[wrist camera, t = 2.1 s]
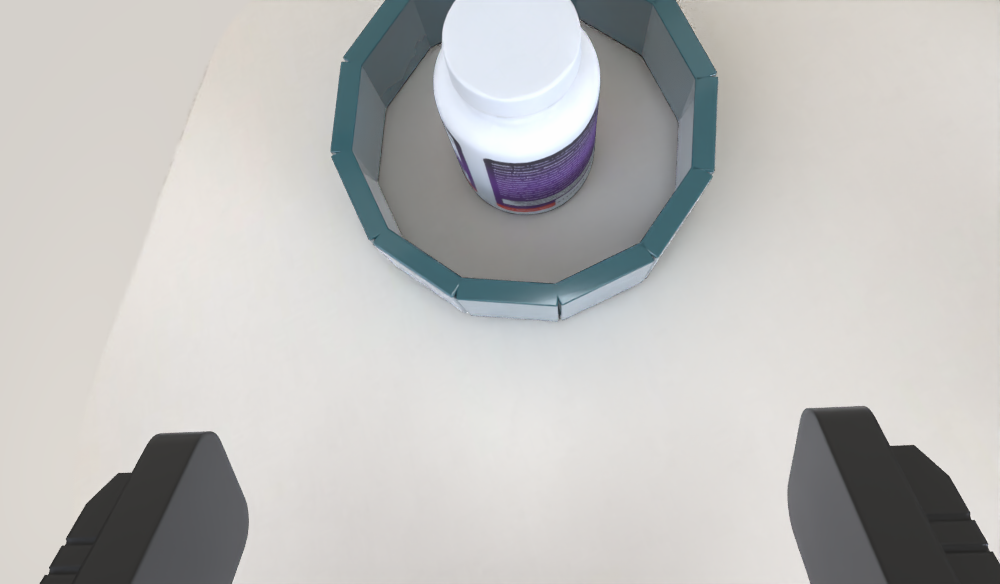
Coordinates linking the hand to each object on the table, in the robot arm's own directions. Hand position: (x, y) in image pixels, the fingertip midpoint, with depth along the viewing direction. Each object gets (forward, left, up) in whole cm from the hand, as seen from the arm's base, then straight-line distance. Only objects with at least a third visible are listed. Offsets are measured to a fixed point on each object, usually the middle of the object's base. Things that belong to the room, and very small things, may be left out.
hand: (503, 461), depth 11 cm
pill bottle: (-1, +11, -19) cm, 22 cm away
